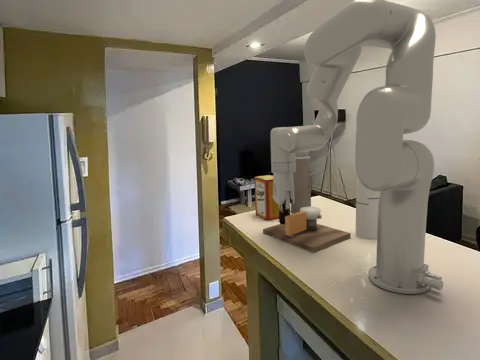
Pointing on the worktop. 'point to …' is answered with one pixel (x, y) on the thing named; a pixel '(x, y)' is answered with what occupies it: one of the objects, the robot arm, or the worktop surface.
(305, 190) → the thermos bottle
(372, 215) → the cylindrical container
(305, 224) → the cap
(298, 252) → the worktop surface
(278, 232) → the post base
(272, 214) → the baking soda box
